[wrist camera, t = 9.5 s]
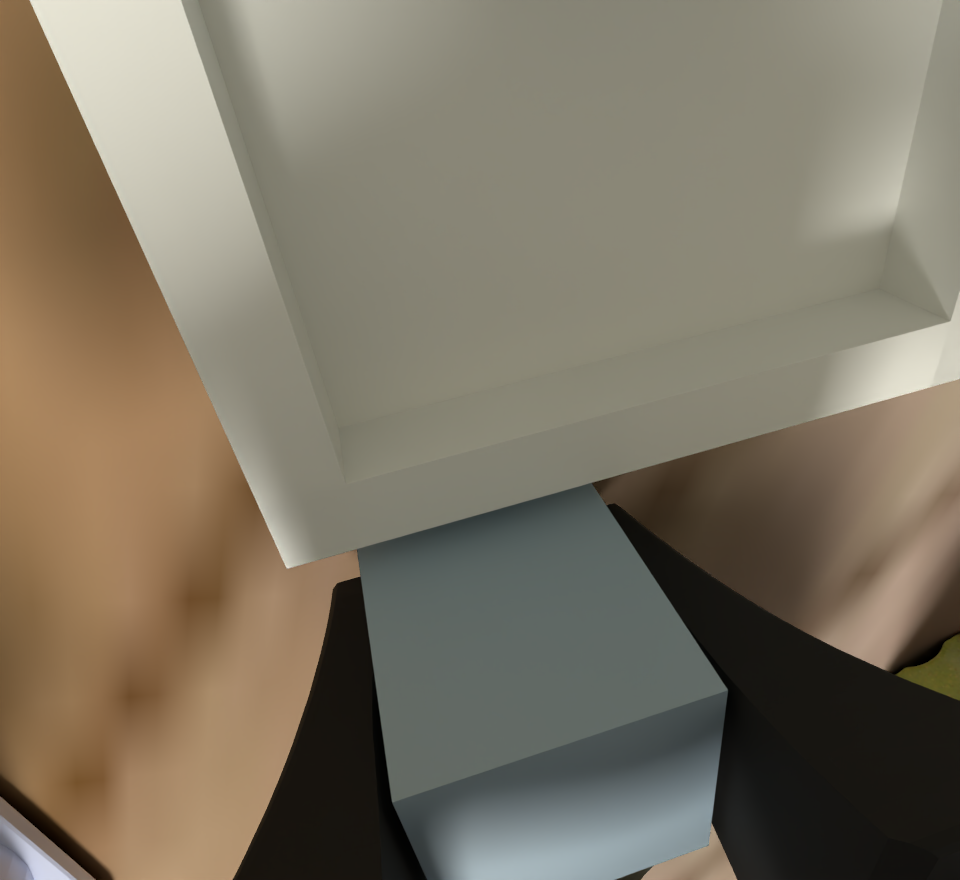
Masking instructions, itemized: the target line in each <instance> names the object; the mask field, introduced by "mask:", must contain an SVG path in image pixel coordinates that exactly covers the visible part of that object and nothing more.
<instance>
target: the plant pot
mask: <svg viewBox="0 0 960 880" xmlns="http://www.w3.org/2000/svg"><path fill="white" fill-rule="evenodd" d="M895 675H896V676H899V677H901V678H903V679H906V680H908V681H911V682H913V683H916V684H918V685H921V686H923V687H926V688H929V689H931V690H934V691H936V692H939V693H941V694H944V695H947V696H949V697H952V698H954V699H957V700H960V634H958V635H955V636H953V637H952V638H951V639H949V640H947V641H945V642H944V644H943V646H942V648H941V650H940V652H939V653H938V654H937V656H936V657H934V658H933V659H932V660H930V661H929V662H927V663H925V664H922V665H918V666H914V667H906V668H904V669H903V670H902V671H900V672H899V673H897V674H895Z"/></svg>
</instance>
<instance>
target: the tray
mask: <svg viewBox="0 0 960 880" xmlns="http://www.w3.org/2000/svg"><path fill="white" fill-rule="evenodd" d="M30 2H31V4H32V7H33V9H34V11H35V13H36V15H37V18H38V20H39V22H40V24H41V26H42V29H43V31H44V33H45V35H46V37H47V40H48V42H49V44H50V46H51V49H52V51H53V53H54V55H55V57H56V60H57V62H58V64H59V66H60V68H61V71H62V73H63V75H64V77H65V79H66V82H67V84H68V86H69V88H70V91H71V93H72V95H73V97H74V99H75V102H76V104H77V106H78V108H79V110H80V113H81V115H82V117H83V119H84V121H85V124H86V126H87V128H88V130H89V133H90V135H91V137H92V139H93V141H94V144H95V146H96V148H97V150H98V152H99V155H100V157H101V159H102V161H103V163H104V166H105V168H106V170H107V172H108V175H109V177H110V179H111V181H112V183H113V186H114V188H115V190H116V192H117V194H118V197H119V199H120V201H121V203H122V205H123V208H124V210H125V212H126V214H127V217H128V219H129V221H130V223H131V225H132V228H133V230H134V232H135V234H136V236H137V239H138V241H139V243H140V245H141V247H142V250H143V252H144V254H145V256H146V259H147V261H148V263H149V265H150V267H151V270H152V272H153V274H154V276H155V278H156V281H157V283H158V285H159V287H160V289H161V292H162V294H163V296H164V298H165V301H166V303H167V305H168V307H169V309H170V312H171V314H172V316H173V318H174V320H175V323H176V325H177V327H178V329H179V331H180V334H181V336H182V338H183V340H184V343H185V345H186V347H187V349H188V351H189V354H190V356H191V358H192V360H193V362H194V365H195V367H196V369H197V371H198V373H199V376H200V378H201V380H202V382H203V385H204V387H205V389H206V391H207V393H208V396H209V398H210V400H211V402H212V404H213V407H214V409H215V411H216V413H217V415H218V418H219V420H220V422H221V424H222V427H223V429H224V431H225V433H226V435H227V438H228V440H229V442H230V444H231V446H232V449H233V451H234V453H235V455H236V457H237V460H238V462H239V464H240V466H241V469H242V471H243V473H244V475H245V477H246V480H247V482H248V484H249V486H250V488H251V491H252V493H253V495H254V497H255V499H256V502H257V504H258V506H259V508H260V511H261V513H262V515H263V517H264V519H265V522H266V524H267V526H268V528H269V530H270V533H271V535H272V537H273V539H274V541H275V544H276V546H277V548H278V550H279V552H280V555H281V557H282V559H283V561H284V564H285V566H286V568H287V569H288V568H292V567H295V566H299V565H302V564H306V563H309V562H313V561H316V560H320V559H323V558H327V557H331V556H334V555H338V554H341V553H345V552H348V551H352V550H355V549H359V548H362V547H366V546H370V545H373V544H377V543H380V542H384V541H387V540H391V539H394V538H398V537H401V536H405V535H409V534H412V533H416V532H419V531H423V530H426V529H430V528H433V527H437V526H440V525H444V524H447V523H451V522H455V521H458V520H462V519H465V518H469V517H472V516H476V515H479V514H483V513H486V512H490V511H494V510H497V509H501V508H504V507H508V506H511V505H515V504H518V503H522V502H525V501H529V500H533V499H536V498H540V497H543V496H547V495H550V494H554V493H557V492H561V491H564V490H568V489H571V488H575V487H579V486H582V485H586V484H589V483H593V482H596V481H600V480H603V479H607V478H610V477H614V476H618V475H621V474H625V473H628V472H632V471H635V470H639V469H642V468H646V467H649V466H653V465H657V464H660V463H664V462H667V461H671V460H674V459H678V458H681V457H685V456H688V455H692V454H695V453H699V452H703V451H706V450H710V449H713V448H717V447H720V446H724V445H727V444H731V443H734V442H738V441H742V440H745V439H749V438H752V437H756V436H759V435H763V434H766V433H770V432H773V431H777V430H781V429H784V428H788V427H791V426H795V425H798V424H802V423H805V422H809V421H812V420H816V419H819V418H823V417H827V416H830V415H834V414H837V413H841V412H844V411H848V410H851V409H855V408H858V407H862V406H866V405H869V404H873V403H876V402H880V401H883V400H887V399H890V398H894V397H897V396H901V395H905V394H908V393H912V392H915V391H919V390H922V389H926V388H929V387H933V386H936V385H940V384H943V383H947V382H951V381H954V380H958V379H960V0H30Z"/></svg>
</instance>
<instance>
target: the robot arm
mask: <svg viewBox="0 0 960 880" xmlns="http://www.w3.org/2000/svg"><path fill="white" fill-rule="evenodd" d="M607 507H608V509H609V510H610V512H611V513H612V515H613V516H614V518H615V520H616V521H617V523H618V524H619V526H620V527H621V529H622V530H623V532H624V533H625V535H626V536H627V538H628V539H629V541H630V542H631V544H632V545H633V547H634V548H635V550H636V551H637V553H638V554H639V556H640V557H641V559H642V560H643V562H644V563H645V565H646V567H647V568H648V570H649V571H650V573H651V574H652V576H653V577H654V579H655V580H656V582H657V583H658V585H659V586H660V588H661V589H662V591H663V592H664V594H665V595H666V597H667V598H668V600H669V601H670V603H671V604H672V606H673V607H674V609H675V611H676V612H677V614H678V615H679V617H680V618H681V620H682V621H683V623H684V624H685V626H686V627H687V629H688V630H689V632H690V633H691V635H692V636H693V638H694V639H695V641H696V642H697V644H698V645H699V647H700V648H701V650H702V651H703V653H704V655H705V656H706V658H707V659H708V661H709V662H710V664H711V665H712V667H713V668H714V670H715V671H716V673H717V674H718V676H719V677H720V679H721V680H722V682H723V683H724V685H725V686H726V688H727V689H728V694H727V702H726V710H725V718H724V726H723V734H722V742H721V750H720V758H719V766H718V774H717V782H716V790H715V798H714V806H713V814H712V824H713V827H714V829H715V831H716V833H717V835H718V838H719V840H720V842H721V844H722V846H723V849H724V851H725V853H726V855H727V857H728V860H729V862H730V864H731V866H732V868H733V871H734V873H735V875H736V878H737V880H960V700H957V699H954V698H952V697H949V696H947V695H944V694H941V693H939V692H936V691H934V690H931V689H929V688H926V687H923V686H921V685H918V684H916V683H913V682H911V681H908V680H906V679H903V678H901V677H899V676H896V675H894V674H892V673H890V672H887V671H885V670H883V669H881V668H878V667H876V666H874V665H872V664H870V663H867V662H865V661H863V660H861V659H858V658H856V657H854V656H852V655H850V654H847V653H845V652H843V651H841V650H839V649H836V648H834V647H833V646H831V645H829V644H827V643H825V642H823V641H821V640H819V639H817V638H815V637H813V636H811V635H809V634H807V633H805V632H803V631H801V630H800V629H798V628H796V627H794V626H792V625H790V624H789V623H787V622H785V621H783V620H781V619H780V618H778V617H776V616H774V615H773V614H771V613H769V612H768V611H766V610H764V609H763V608H761V607H759V606H758V605H756V604H754V603H753V602H751V601H749V600H748V599H746V598H745V597H743V596H741V595H740V594H738V593H737V592H735V591H734V590H732V589H730V588H729V587H727V586H726V585H724V584H723V583H721V582H720V581H718V580H717V579H715V578H714V577H712V576H711V575H710V574H708V573H707V572H705V571H704V570H702V569H701V568H700V567H698V566H697V565H695V564H694V563H692V562H691V561H690V560H688V559H687V558H685V557H684V556H683V555H681V554H680V553H678V552H677V551H676V550H674V549H673V548H672V547H670V546H669V545H668V544H666V543H665V542H664V541H662V540H661V539H660V538H659V537H657V536H656V535H655V534H653V533H652V532H651V531H649V530H648V529H647V528H646V527H644V526H643V525H642V524H641V523H639V522H638V521H637V520H636V519H634V518H633V517H632V516H631V515H629V514H628V513H627V512H626V511H624V510H623V509H622V508H621V507H619V506H618V505H616V504H614V503H613V504H610V505H607ZM0 880H95V879H94V878H93V877H92V876H91V875H90V874H89V873H87V872H86V871H85V870H84V869H83V868H82V867H81V866H79V865H78V864H77V863H76V862H75V861H74V860H73V859H71V858H70V857H69V856H68V855H67V854H66V853H64V852H63V851H62V850H61V849H60V848H59V847H58V846H56V845H55V844H54V843H53V842H52V841H51V840H50V839H48V838H47V837H46V836H45V835H44V834H43V833H42V832H40V831H39V830H38V829H37V828H36V827H35V826H34V825H32V824H31V823H30V822H29V821H28V820H27V819H26V818H24V817H23V816H22V815H21V814H20V813H19V812H17V811H16V810H15V809H14V808H13V807H12V806H11V805H9V804H8V803H7V802H6V801H5V800H4V799H3V798H1V797H0ZM233 880H427V878H426V876H425V874H424V872H423V869H422V867H421V865H420V863H419V861H418V858H417V856H416V854H415V852H414V850H413V847H412V845H411V843H410V841H409V839H408V836H407V834H406V832H405V830H404V828H403V825H402V823H401V821H400V819H399V816H398V814H397V812H396V810H395V808H394V805H393V803H392V798H391V791H390V783H389V776H388V769H387V762H386V755H385V747H384V740H383V733H382V726H381V719H380V711H379V704H378V697H377V690H376V683H375V675H374V668H373V661H372V654H371V647H370V639H369V632H368V625H367V618H366V611H365V603H364V596H363V589H362V582H361V577H357V578H354V579H350V580H347V581H343V582H340V583H337V584H336V586H335V587H334V589H333V593H332V601H331V607H330V613H329V619H328V624H327V628H326V633H325V637H324V642H323V646H322V650H321V654H320V658H319V662H318V665H317V669H316V672H315V676H314V680H313V683H312V687H311V691H310V694H309V697H308V700H307V703H306V706H305V709H304V712H303V715H302V718H301V721H300V724H299V727H298V730H297V733H296V736H295V739H294V742H293V745H292V747H291V750H290V753H289V755H288V758H287V761H286V763H285V766H284V768H283V771H282V773H281V776H280V778H279V781H278V783H277V786H276V788H275V790H274V793H273V795H272V798H271V800H270V802H269V805H268V807H267V809H266V811H265V814H264V816H263V818H262V820H261V822H260V824H259V827H258V829H257V831H256V833H255V835H254V837H253V839H252V842H251V844H250V846H249V848H248V850H247V852H246V854H245V857H244V859H243V861H242V863H241V865H240V867H239V869H238V871H237V873H236V875H235V877H234V878H233Z"/></svg>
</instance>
